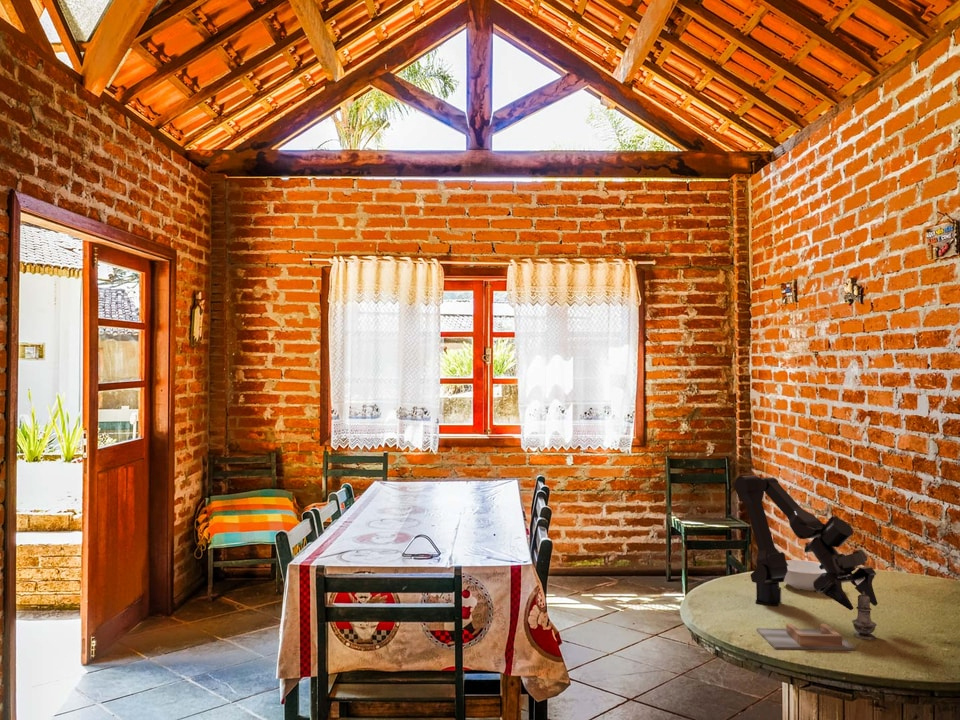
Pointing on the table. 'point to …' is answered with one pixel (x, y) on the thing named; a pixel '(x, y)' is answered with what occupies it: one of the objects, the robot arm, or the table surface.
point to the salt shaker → (864, 619)
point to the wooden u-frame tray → (805, 638)
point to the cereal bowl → (802, 574)
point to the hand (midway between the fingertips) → (864, 607)
